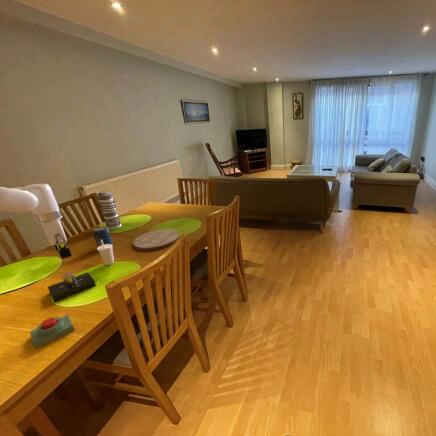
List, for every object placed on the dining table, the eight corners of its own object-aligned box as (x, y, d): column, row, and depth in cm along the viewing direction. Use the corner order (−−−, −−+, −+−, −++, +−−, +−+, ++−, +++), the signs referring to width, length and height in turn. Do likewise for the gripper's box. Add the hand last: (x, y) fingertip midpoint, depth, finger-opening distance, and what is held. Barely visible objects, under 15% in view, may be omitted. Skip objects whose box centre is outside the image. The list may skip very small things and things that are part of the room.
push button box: (35, 349, 78) (30, 340, 76) (32, 336, 83) (27, 327, 81) (75, 330, 85) (71, 321, 84) (69, 319, 90) (66, 310, 88)
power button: (43, 331, 80) (41, 327, 79) (42, 325, 82) (40, 322, 82) (58, 324, 83) (56, 320, 82) (56, 319, 85) (54, 315, 84)
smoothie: (99, 267, 121) (91, 242, 116) (106, 260, 127) (98, 236, 122) (114, 265, 123) (106, 241, 117) (119, 259, 128) (112, 235, 123)
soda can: (113, 243, 145) (107, 225, 140) (112, 247, 140) (106, 229, 135) (98, 246, 141) (92, 227, 137) (98, 251, 136) (91, 232, 132)
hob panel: (54, 302, 98) (51, 296, 96) (50, 292, 104) (47, 286, 102) (96, 285, 108) (94, 280, 106) (90, 277, 114) (88, 271, 112)
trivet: (187, 233, 158) (187, 230, 157) (162, 252, 135) (161, 249, 134) (153, 230, 162) (153, 227, 161) (123, 248, 139) (122, 245, 138)
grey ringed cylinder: (123, 226, 168) (113, 192, 158) (107, 230, 161) (96, 195, 152) (120, 222, 173) (110, 189, 164) (104, 226, 167) (93, 192, 158)
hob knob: (77, 283, 105) (73, 273, 103) (66, 287, 102) (62, 277, 100) (75, 279, 107) (71, 270, 105) (65, 283, 104) (61, 274, 102)
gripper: (31, 213, 96) (48, 250, 103) (38, 224, 86) (56, 264, 92) (56, 208, 101) (71, 243, 108) (65, 218, 91) (80, 256, 98)
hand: (64, 253), depth 100 cm, fingers open, 9 cm apart
